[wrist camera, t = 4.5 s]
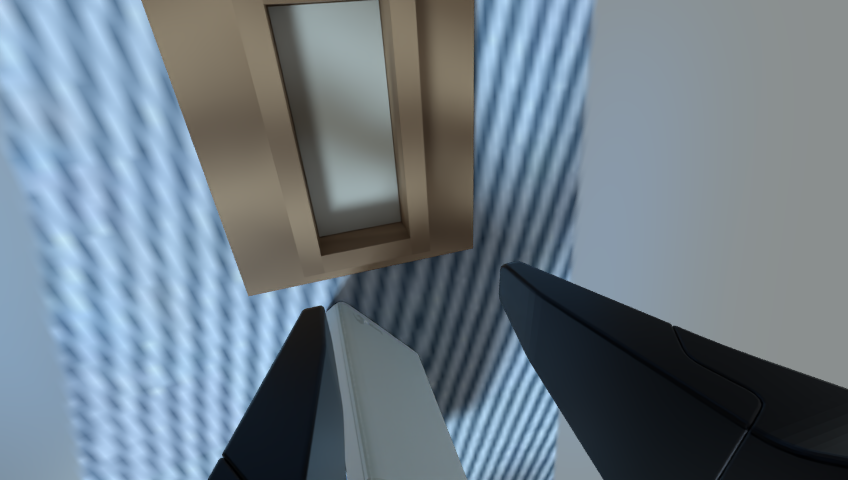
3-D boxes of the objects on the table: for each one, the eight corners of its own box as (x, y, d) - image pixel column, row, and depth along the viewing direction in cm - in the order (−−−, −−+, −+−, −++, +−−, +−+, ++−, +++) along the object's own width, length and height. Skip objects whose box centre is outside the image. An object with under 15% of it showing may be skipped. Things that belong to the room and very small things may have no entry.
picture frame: (466, 240, 25) (486, 265, 22) (249, 285, 22) (244, 319, 20) (465, -83, 17) (495, -100, 14) (122, -76, 14) (86, -96, 12)
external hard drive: (341, 297, 24) (380, 506, 14) (422, 355, 29) (497, 546, 18) (322, 314, 25) (346, 533, 14) (405, 368, 29) (470, 566, 19)
